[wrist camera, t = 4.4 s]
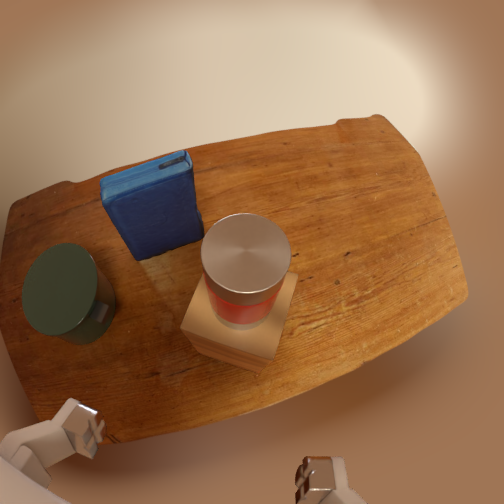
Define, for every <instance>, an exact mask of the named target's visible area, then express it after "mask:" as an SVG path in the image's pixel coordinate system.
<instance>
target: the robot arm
mask: <svg viewBox="0 0 504 504" xmlns="http://www.w3.org/2000/svg"><path fill="white" fill-rule="evenodd" d="M103 417H104V416H103V413H102V411H99V410H97V409H95V408H92V407H90V406H88V405H85V404H83V403H81V402H79V401H77V400H75V399H73V398H70V399H68V400H67V401H66V402H65V404H64V405H63V406H62V407H61V409H60V410H59V411H58V413H57V414H56V415H55V417H54V418H53V419H52V420H51V421H50V420H47V421H44V422H41V423H38V424H35V425H31V426H28V427H25V428H22V429H19V430H16V431H12V432H9V433H8V434H7V435H6V436H5V438H4V439H3V440H2V441H1V443H0V504H71V503H69V502H68V501H66V500H64V499H62V498H60V497H59V496H57V495H55V494H54V493H52V492H50V491H49V490H47V487H48V485H49V483H50V482H51V480H52V478H51V476H50V474H49V473H48V472H47V471H46V469H45V468H47V467H49V466H51V465H53V464H55V463H57V462H59V461H61V460H63V459H65V458H67V457H68V456H70V455H72V454H74V453H75V452H78V453H80V454H82V455H84V456H86V457H88V458H90V459H93V457H94V456H95V454H96V452H97V450H98V445H97V444H98V443H100V442H102V441H103V440H104V438H105V435H106V431H107V426H106V423H105V422H104V421H103ZM295 485H296V486H297V487H298V488H299V489H298V490H297V492H296V493H295V498H296V504H368V503H367V502H365V500H363V498H361V497H360V496H359V495H358V494H357V493H356V492H355V491H354V490H353V489H349V485H348V479H347V474H346V467H345V462H344V458H343V457H311V456H306V457H304V459H303V464H302V465H300V466H299V467H298V469H297V472H296V477H295Z"/></svg>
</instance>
